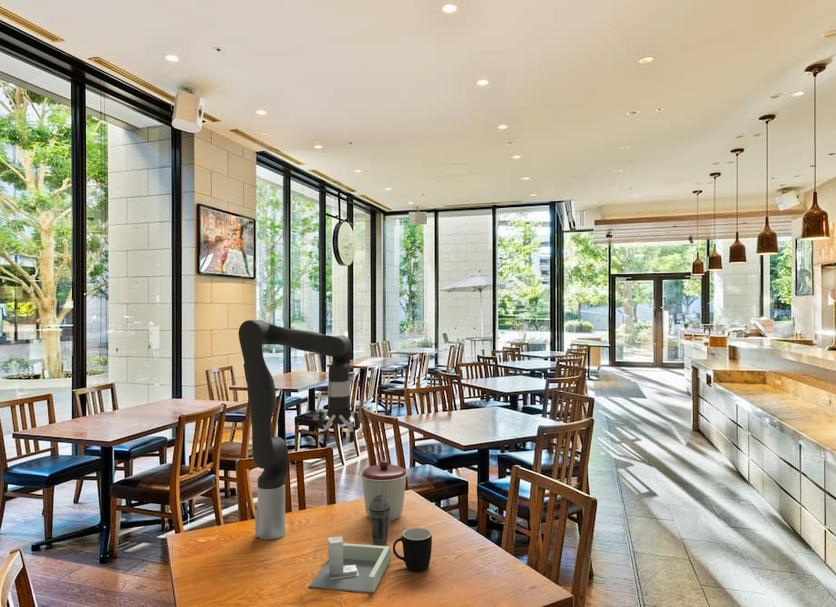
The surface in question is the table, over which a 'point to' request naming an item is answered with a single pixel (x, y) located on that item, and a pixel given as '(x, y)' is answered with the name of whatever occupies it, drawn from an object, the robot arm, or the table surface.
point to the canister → (385, 486)
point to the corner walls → (369, 559)
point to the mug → (416, 548)
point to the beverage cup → (379, 518)
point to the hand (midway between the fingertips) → (339, 441)
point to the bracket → (338, 559)
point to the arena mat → (349, 582)
